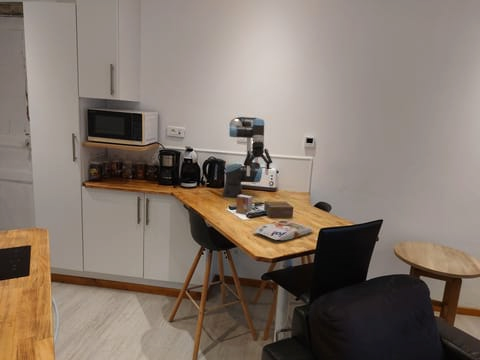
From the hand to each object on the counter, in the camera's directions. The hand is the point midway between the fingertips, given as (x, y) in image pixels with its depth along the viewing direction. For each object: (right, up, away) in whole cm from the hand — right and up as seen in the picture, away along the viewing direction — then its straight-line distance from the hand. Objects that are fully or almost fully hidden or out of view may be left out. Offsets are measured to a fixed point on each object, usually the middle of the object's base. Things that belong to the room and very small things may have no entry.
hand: (257, 175), depth 229 cm
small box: (-9, -23, -8) cm, 26 cm away
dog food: (+12, -31, -43) cm, 54 cm away
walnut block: (+12, -25, -9) cm, 29 cm away
